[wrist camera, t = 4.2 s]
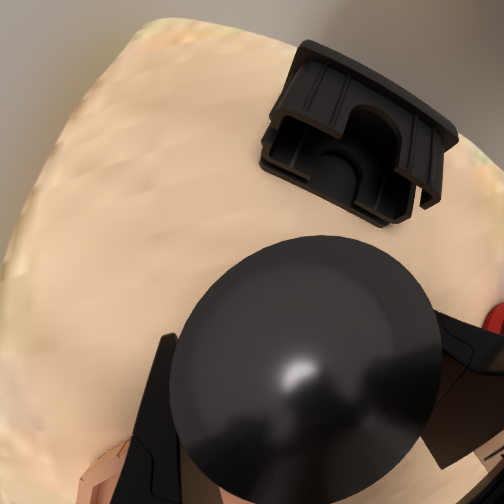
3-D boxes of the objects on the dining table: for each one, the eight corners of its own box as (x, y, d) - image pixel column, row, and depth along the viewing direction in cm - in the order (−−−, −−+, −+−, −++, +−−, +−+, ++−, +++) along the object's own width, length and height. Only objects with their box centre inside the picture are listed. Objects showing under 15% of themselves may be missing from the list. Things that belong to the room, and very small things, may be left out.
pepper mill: (303, 373, 15) (444, 446, 4) (209, 393, 14) (211, 531, 3) (286, 282, 16) (417, 219, 5) (190, 298, 15) (142, 261, 4)
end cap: (404, 154, 19) (458, 107, 13) (389, 234, 18) (460, 198, 11) (287, 92, 19) (314, 22, 12) (248, 164, 17) (269, 89, 11)
